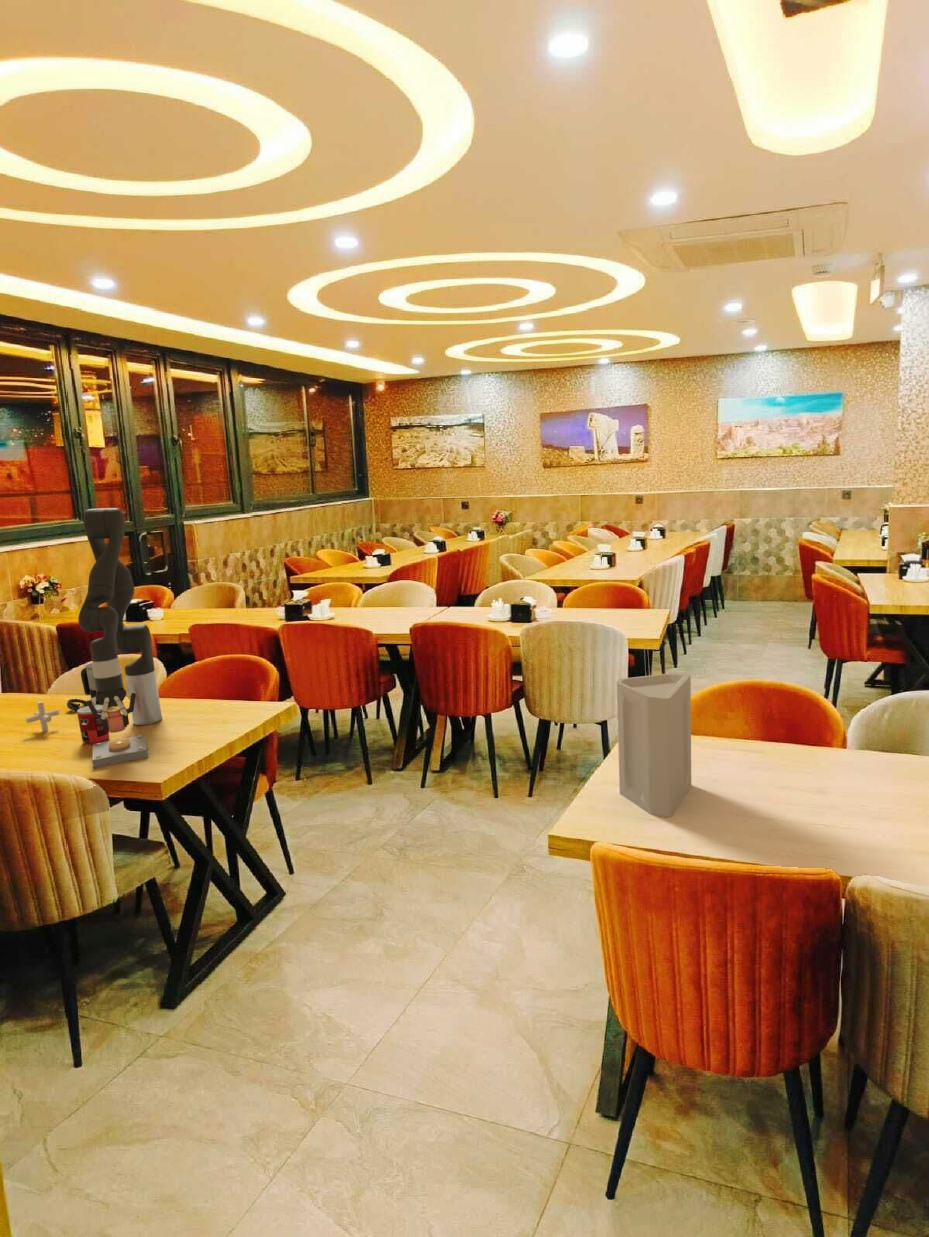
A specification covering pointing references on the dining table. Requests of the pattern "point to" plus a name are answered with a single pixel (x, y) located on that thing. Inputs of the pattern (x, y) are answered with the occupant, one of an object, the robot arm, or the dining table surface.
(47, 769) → the dining table surface
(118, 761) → the square plate with knob
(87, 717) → the canned food
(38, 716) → the pipe connector
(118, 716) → the orange rounded knob
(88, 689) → the milk frother
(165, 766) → the dining table surface
